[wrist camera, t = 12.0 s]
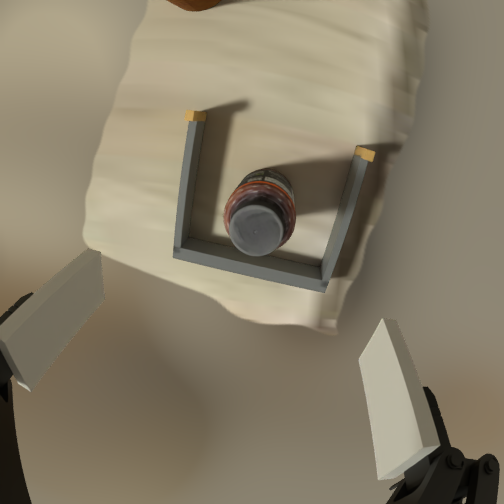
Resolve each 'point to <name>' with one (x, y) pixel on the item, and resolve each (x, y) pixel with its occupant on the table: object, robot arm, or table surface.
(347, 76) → the table surface
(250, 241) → the supplement bottle
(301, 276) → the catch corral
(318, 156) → the table surface
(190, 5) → the disposable coffee cup
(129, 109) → the table surface
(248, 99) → the table surface
